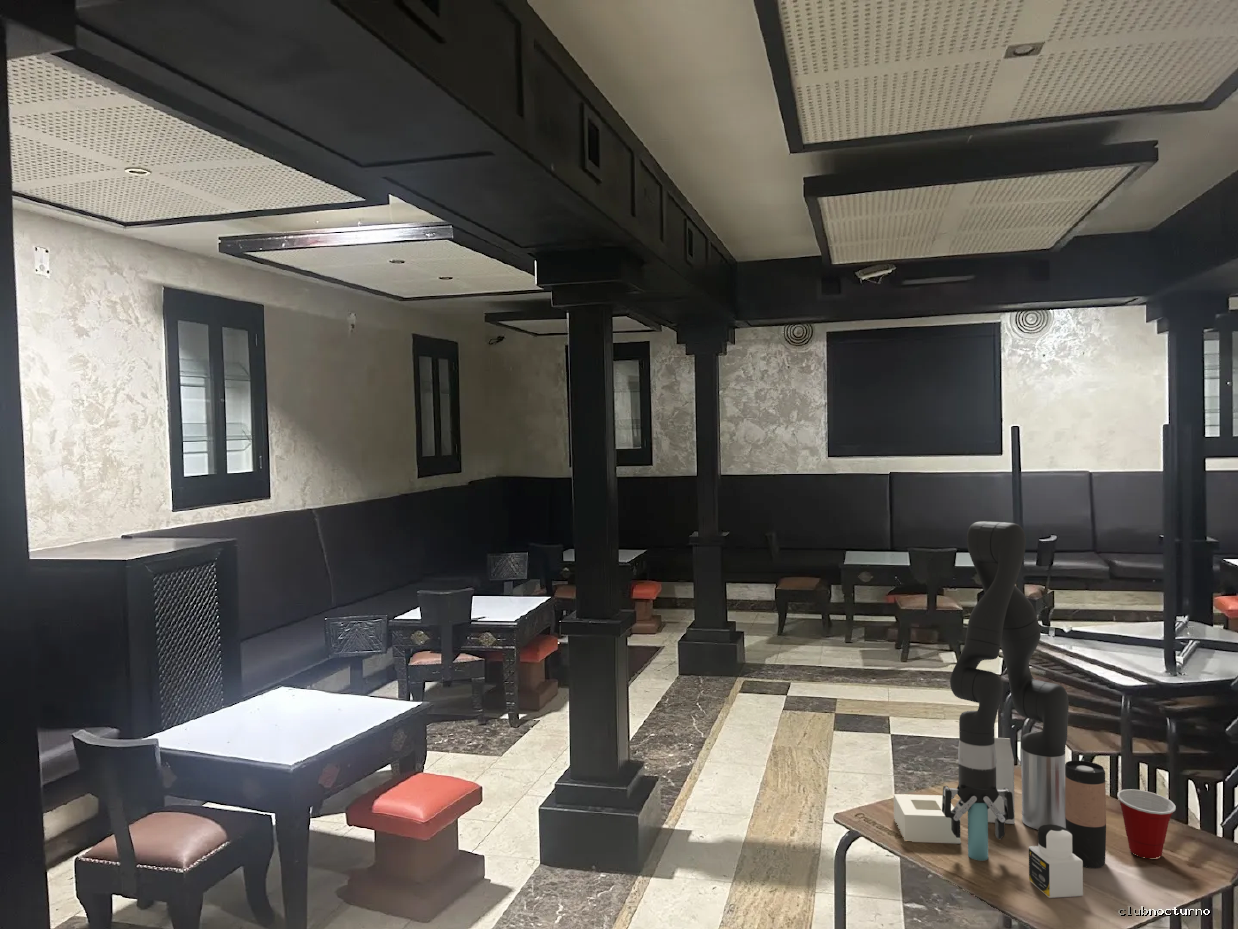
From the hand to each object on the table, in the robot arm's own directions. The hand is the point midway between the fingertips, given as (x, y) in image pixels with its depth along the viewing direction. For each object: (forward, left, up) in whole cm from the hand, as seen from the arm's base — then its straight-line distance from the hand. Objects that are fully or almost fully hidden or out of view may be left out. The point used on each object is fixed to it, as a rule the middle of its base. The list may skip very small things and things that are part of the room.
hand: (977, 837), depth 185 cm
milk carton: (-10, -21, -4) cm, 24 cm away
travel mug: (-22, 0, -4) cm, 23 cm away
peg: (0, 0, -4) cm, 4 cm away
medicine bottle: (-11, +13, -4) cm, 18 cm away
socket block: (+8, -12, -4) cm, 15 cm away
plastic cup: (-36, -4, -4) cm, 37 cm away
